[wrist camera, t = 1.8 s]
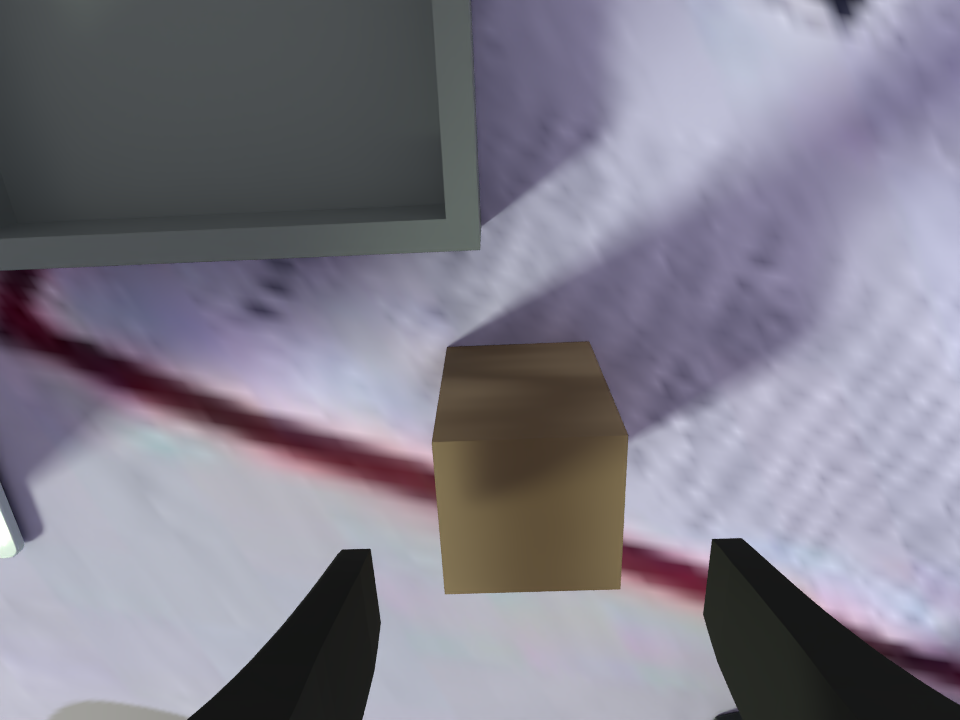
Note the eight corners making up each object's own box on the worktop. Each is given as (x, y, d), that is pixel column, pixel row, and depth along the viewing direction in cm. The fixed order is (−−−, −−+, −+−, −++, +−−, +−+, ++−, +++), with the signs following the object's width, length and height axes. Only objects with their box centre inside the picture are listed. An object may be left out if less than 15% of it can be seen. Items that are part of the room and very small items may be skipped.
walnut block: (455, 467, 22) (445, 594, 16) (447, 346, 20) (431, 442, 14) (586, 463, 22) (620, 589, 16) (588, 341, 20) (628, 435, 14)
